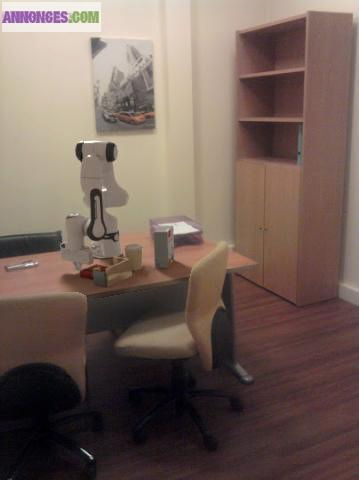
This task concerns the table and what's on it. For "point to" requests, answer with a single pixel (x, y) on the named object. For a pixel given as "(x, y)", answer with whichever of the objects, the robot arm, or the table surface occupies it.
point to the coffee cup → (134, 255)
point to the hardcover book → (88, 271)
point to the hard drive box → (164, 246)
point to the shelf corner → (118, 270)
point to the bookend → (100, 278)
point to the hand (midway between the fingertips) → (78, 270)
